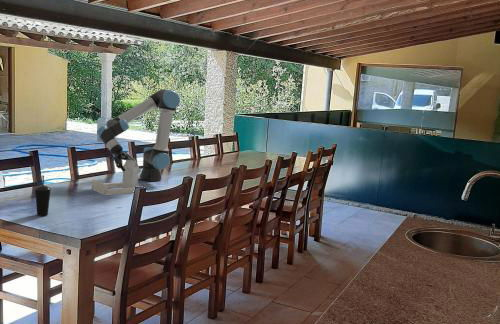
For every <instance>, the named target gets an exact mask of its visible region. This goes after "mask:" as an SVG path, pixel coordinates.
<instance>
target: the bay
mask: <svg viewBox="0 0 500 324" xmlns="http://www.w3.org/2000/svg"><path fill="white" fill-rule="evenodd" d="M122 183H123V181H120V182H119V181H118V182H105V183H103V182H101V181H98V180H96V179H91V190H93V191H95V192H97V193H99V194H101V195H103V196H109V195H121V194H122V195H123V194H134V193H133V191H134V188H135V187H132V188H122ZM141 185H142V186H143V187H145V188H146V183H142V184H141ZM142 186H141V187H142Z"/></svg>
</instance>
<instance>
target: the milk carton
mask: <svg viewBox="0 0 500 324" xmlns="http://www.w3.org/2000/svg"><path fill="white" fill-rule="evenodd" d="M136 161H137V160H136ZM136 161H134V160H125V162H124V163H123V165H124V166H125V168H126V169H127V170H128V172H129V173H130V174H129V175H128V176H126V175H125V174H124V172H123V171H122V182H123V183H122V187H121V188H132V187H136V186H137V187H139V186H138V185H139V184H138V183H139V181H138V180H139V173H138V167H139V165H138V163H137V162H136Z"/></svg>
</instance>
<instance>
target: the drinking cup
mask: <svg viewBox="0 0 500 324" xmlns="http://www.w3.org/2000/svg"><path fill="white" fill-rule="evenodd" d="M41 183H42V185H39V186H37V187H36V186H35V187H34V193H35V194H34V195H35V204H36V205H35V206H36V216H37V215H38V216H37V217H47V216H48V215H49V208H50V207H49V206H50V199H51V190H52V187H50V186H48V185H45V184H44V183H45V176H44V175H42V180H41Z"/></svg>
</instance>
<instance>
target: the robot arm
mask: <svg viewBox="0 0 500 324" xmlns="http://www.w3.org/2000/svg"><path fill="white" fill-rule="evenodd" d="M180 102H181V98H180V95H179V94H178V93H177V91H174V90H173V89H165V88H164V89H160V90H157V91H156V92H154V93H152V94H151V95H149V96H148V97H147V99H146V100H144V101H142V102H140V103H138V104H137V105H135V106H133V107H132V108H129V109H128V110H126V111H124V112H123V113H121V114H119V115H118V116H116V117H114V118H111V119H108V120H107V121H106V123H105V125H103V126H100V127H99V128H98V129H97V131H96V133H97V135H98V137H99V138H100V140H101V141H102V142H103V144H104V145H105V146H106V148H107V149H108V150H109V152H110V154H112V159H113V161H114V163H115V166H116V168H117V169H119V170H121V171H122V173H123V172H124V174H125V175H126V176H128V175H129V174H130V173H129V172H128V170H127V169H126V168H125V166H124V163H123V161H126V160H134V161H136V163H137V162H138V161H137V160H136V159H135V158H134V157H132V155H131V154H129V153H128V152H127V151H123V150H124V148H123V146H122V145H121V144H120V142H119V141H118V139H116V137H117V136H119V135H121V134H123V133H124V132H126V131H127V130H129V128H130V126H129V123H131V122H133V121H134V120H137V119H138V118H139V117H141V116H143V115H145V114H147V113H148V112H150V111H151V110H157V109H158V110H159V111H160V112H159V117H158V118H159V119H158V124H157V131H156V138H155V143H154V146H153V147H144V148H143V157H142V159H143V160H142V169H141V168H140V167H139V166H138V174H139V173H140V175H139V180H141V181H145V182H160V181H162V175H161V171H160V170H164V169H166V168H167V167H168V166H170V164H171V157H170V149H169V147H168V146H169V140H170V135H171V127H172V122H173V116H174V113H175V112H176V111H177V107H179V105H180Z"/></svg>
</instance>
